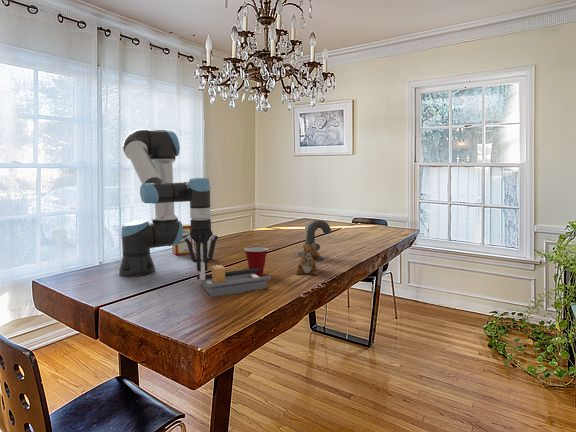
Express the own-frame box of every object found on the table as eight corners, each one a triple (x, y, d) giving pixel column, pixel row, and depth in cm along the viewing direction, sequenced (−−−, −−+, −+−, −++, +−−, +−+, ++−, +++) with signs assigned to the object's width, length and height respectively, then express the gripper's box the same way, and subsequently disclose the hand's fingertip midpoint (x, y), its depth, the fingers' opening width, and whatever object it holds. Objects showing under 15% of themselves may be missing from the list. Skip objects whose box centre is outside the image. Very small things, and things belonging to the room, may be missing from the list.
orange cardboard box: (176, 255, 207) (174, 226, 205) (172, 253, 212) (171, 225, 210) (192, 253, 212) (192, 225, 210) (189, 251, 217) (188, 223, 215)
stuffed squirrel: (294, 275, 169) (294, 246, 168) (300, 267, 183) (300, 240, 181) (316, 276, 167) (317, 247, 166) (321, 268, 181) (321, 241, 179)
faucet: (337, 260, 197) (338, 222, 194) (309, 262, 192) (309, 223, 189) (324, 252, 214) (324, 217, 211) (297, 254, 209) (297, 218, 207)
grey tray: (205, 289, 140) (205, 285, 140) (196, 279, 153) (196, 275, 153) (271, 280, 152) (271, 276, 152) (258, 271, 165) (258, 267, 165)
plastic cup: (268, 270, 176) (268, 245, 175) (268, 277, 166) (268, 250, 164) (245, 271, 176) (244, 245, 175) (243, 277, 165) (242, 250, 164)
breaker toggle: (215, 283, 147) (214, 268, 146) (211, 279, 151) (211, 265, 150) (225, 281, 148) (225, 267, 148) (221, 278, 153) (221, 264, 152)
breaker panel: (211, 297, 141) (211, 288, 140) (201, 285, 155) (201, 277, 155) (266, 288, 150) (266, 280, 150) (252, 278, 165) (251, 271, 164)
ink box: (192, 258, 201) (192, 236, 200) (199, 256, 205) (199, 234, 204) (204, 260, 197) (203, 237, 195) (211, 258, 201) (210, 236, 199)
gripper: (185, 221, 138) (187, 283, 141) (220, 218, 143) (221, 279, 146) (181, 218, 144) (183, 278, 147) (214, 216, 150) (216, 274, 153)
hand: (202, 278), depth 147 cm, fingers closed
